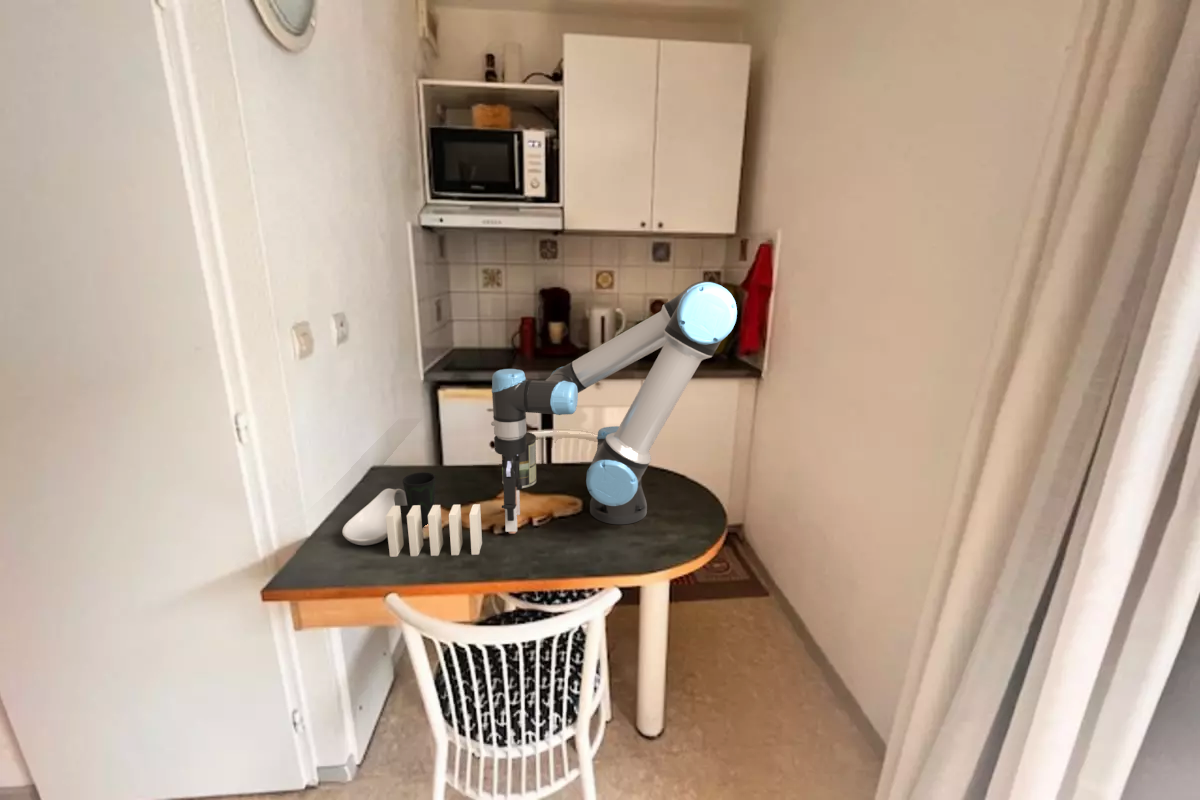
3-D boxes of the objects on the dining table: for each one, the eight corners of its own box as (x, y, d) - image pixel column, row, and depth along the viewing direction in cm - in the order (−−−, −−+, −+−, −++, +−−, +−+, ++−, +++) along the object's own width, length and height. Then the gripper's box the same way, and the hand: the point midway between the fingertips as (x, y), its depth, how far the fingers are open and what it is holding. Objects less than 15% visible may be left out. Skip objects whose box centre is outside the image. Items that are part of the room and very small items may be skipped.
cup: (406, 517, 134) (402, 474, 131) (437, 513, 137) (434, 470, 133) (407, 532, 127) (402, 486, 124) (439, 527, 130) (436, 482, 127)
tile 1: (482, 542, 123) (480, 504, 120) (478, 554, 118) (476, 514, 115) (475, 543, 123) (473, 504, 120) (471, 554, 118) (469, 514, 115)
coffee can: (514, 491, 150) (513, 445, 146) (495, 480, 157) (493, 436, 153) (543, 482, 156) (543, 437, 153) (524, 471, 164) (522, 429, 160)
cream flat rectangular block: (403, 544, 122) (399, 505, 119) (397, 556, 117) (393, 516, 114) (396, 544, 122) (392, 505, 119) (389, 556, 117) (385, 516, 114)
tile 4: (423, 544, 122) (420, 505, 119) (417, 556, 117) (414, 515, 115) (416, 544, 122) (413, 505, 119) (410, 556, 117) (406, 515, 114)
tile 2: (462, 543, 123) (460, 504, 120) (458, 555, 118) (456, 514, 115) (455, 543, 122) (453, 504, 120) (451, 555, 118) (448, 515, 115)
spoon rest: (385, 553, 118) (382, 525, 117) (334, 552, 119) (330, 523, 117) (421, 505, 141) (419, 481, 139) (378, 504, 141) (375, 480, 139)
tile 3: (443, 543, 122) (440, 504, 120) (438, 555, 117) (435, 515, 115) (436, 543, 122) (433, 505, 120) (431, 555, 117) (427, 515, 115)
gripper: (499, 421, 133) (502, 503, 139) (488, 450, 113) (492, 544, 119) (529, 421, 133) (530, 503, 139) (523, 450, 114) (525, 543, 120)
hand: (513, 522), depth 129 cm, fingers open, 8 cm apart
